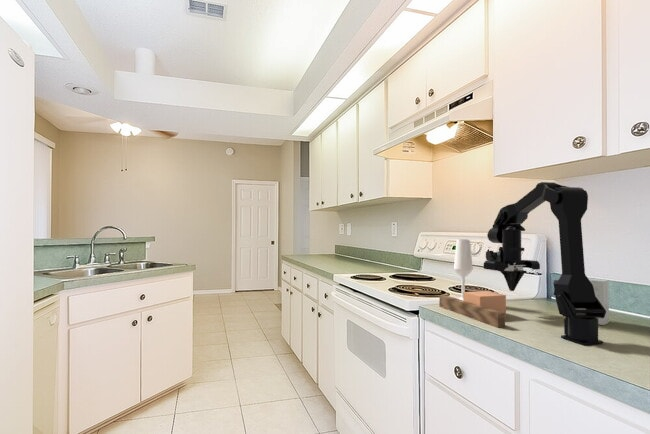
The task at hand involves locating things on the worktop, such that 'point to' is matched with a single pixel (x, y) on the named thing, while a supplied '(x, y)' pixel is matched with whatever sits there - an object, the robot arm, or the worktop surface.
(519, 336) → the worktop surface
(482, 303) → the brick
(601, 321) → the small box
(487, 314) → the plank
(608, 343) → the worktop surface
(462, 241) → the champagne flute
